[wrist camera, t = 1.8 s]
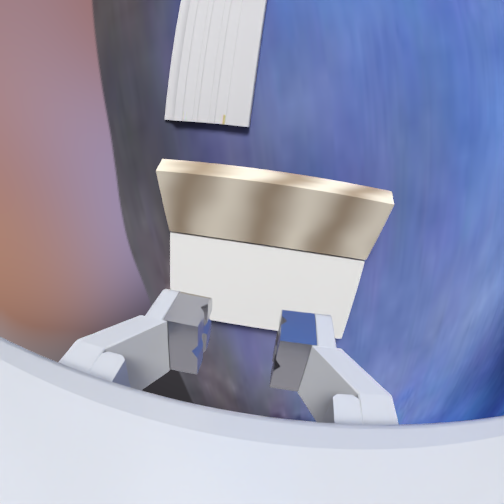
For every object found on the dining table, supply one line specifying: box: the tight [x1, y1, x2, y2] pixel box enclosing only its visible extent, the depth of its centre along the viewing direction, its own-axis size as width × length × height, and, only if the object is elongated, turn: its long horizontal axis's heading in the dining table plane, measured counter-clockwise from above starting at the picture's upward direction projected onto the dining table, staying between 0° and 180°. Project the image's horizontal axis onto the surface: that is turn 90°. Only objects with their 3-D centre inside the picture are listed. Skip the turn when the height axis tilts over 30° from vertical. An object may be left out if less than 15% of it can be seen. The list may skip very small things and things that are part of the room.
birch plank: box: [156, 159, 394, 260], centre depth 29 cm, size 20×8×2 cm, turn 84°
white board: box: [170, 231, 365, 339], centre depth 35 cm, size 20×10×2 cm, turn 84°
